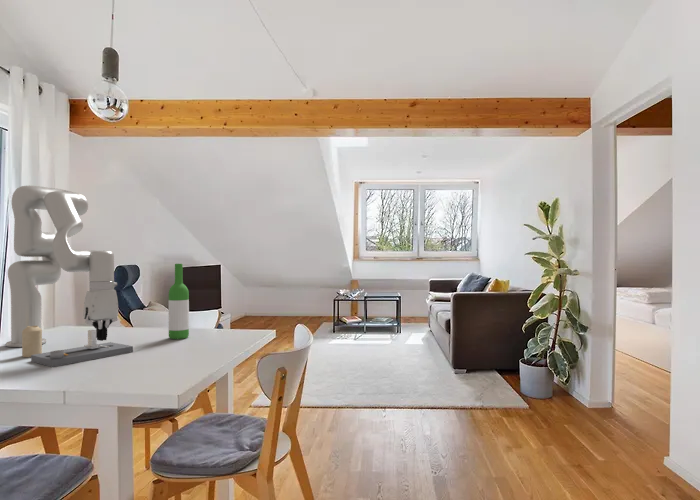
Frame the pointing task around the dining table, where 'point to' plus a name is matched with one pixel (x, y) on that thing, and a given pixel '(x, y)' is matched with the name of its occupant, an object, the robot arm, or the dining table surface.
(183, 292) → the wine bottle
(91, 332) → the fader
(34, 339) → the candle
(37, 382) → the dining table surface
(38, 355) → the console
